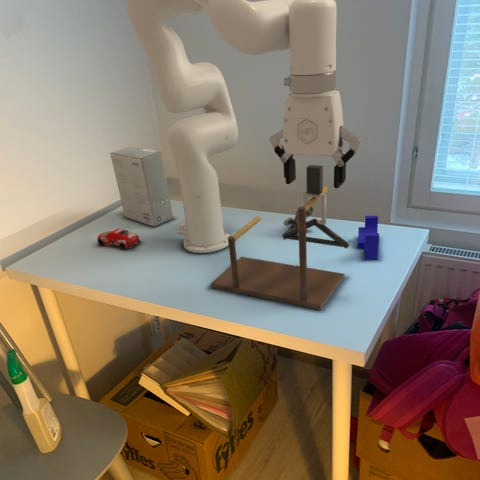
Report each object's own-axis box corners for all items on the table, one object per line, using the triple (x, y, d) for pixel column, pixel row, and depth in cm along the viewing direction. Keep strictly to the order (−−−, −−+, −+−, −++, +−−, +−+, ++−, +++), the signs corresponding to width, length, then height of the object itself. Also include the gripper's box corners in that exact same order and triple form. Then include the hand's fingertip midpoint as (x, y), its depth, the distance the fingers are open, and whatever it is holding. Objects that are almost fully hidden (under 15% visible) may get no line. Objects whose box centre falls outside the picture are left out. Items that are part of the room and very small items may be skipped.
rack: (211, 287, 110) (198, 199, 99) (242, 260, 120) (233, 177, 109) (320, 310, 98) (320, 212, 87) (344, 278, 108) (347, 186, 97)
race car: (94, 245, 137) (90, 231, 135) (107, 237, 141) (104, 224, 138) (130, 251, 131) (127, 237, 128) (143, 243, 134) (140, 229, 132)
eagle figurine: (316, 233, 127) (319, 214, 133) (300, 213, 123) (304, 194, 130) (292, 246, 131) (297, 226, 137) (276, 227, 128) (281, 208, 134)
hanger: (281, 239, 101) (278, 165, 93) (284, 236, 103) (281, 162, 94) (347, 249, 95) (350, 170, 87) (350, 246, 96) (353, 167, 88)
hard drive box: (174, 218, 148) (162, 151, 137) (154, 227, 143) (140, 158, 132) (143, 209, 157) (130, 145, 146) (123, 217, 153) (108, 152, 142)
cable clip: (358, 238, 124) (359, 215, 121) (376, 238, 123) (377, 215, 120) (357, 259, 115) (358, 235, 111) (377, 259, 114) (379, 235, 110)
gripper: (257, 88, 84) (264, 186, 94) (355, 87, 76) (352, 194, 86) (276, 81, 89) (281, 174, 99) (370, 79, 82) (365, 181, 91)
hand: (314, 183), depth 92 cm, fingers open, 9 cm apart
